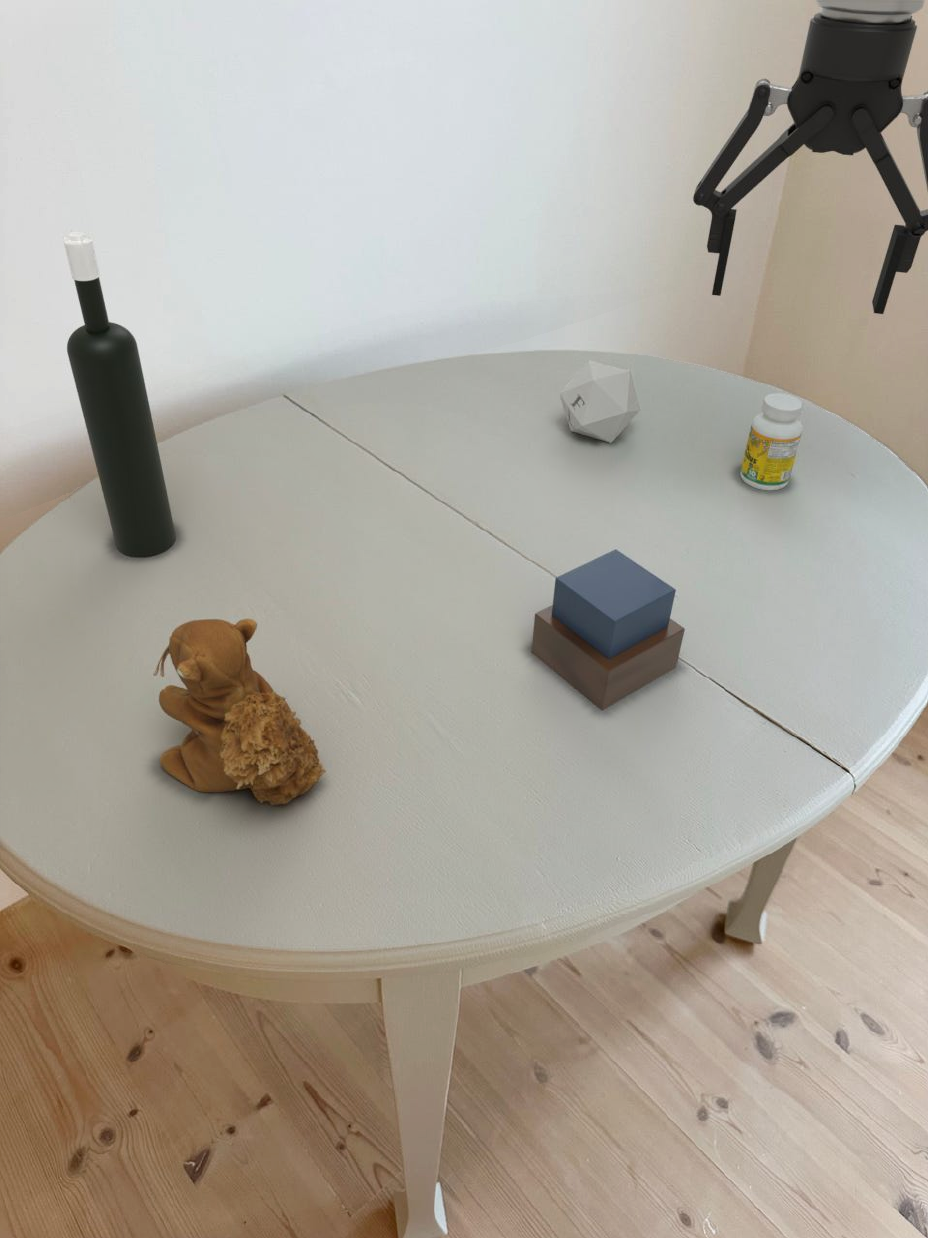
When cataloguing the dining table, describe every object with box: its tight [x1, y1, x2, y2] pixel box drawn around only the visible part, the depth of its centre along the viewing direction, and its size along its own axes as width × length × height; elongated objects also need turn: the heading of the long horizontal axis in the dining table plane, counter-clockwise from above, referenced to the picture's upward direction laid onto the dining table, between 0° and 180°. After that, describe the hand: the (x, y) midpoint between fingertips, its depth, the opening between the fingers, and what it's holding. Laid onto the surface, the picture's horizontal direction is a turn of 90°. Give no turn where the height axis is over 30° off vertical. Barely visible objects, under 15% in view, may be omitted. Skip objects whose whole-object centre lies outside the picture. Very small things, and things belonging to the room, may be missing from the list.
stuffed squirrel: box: [153, 618, 327, 806], centre depth 69 cm, size 10×14×13 cm
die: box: [558, 359, 641, 444], centre depth 113 cm, size 8×9×10 cm
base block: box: [531, 604, 686, 711], centre depth 82 cm, size 9×9×4 cm
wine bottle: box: [62, 230, 177, 559], centre depth 86 cm, size 6×6×30 cm
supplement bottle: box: [740, 392, 804, 492], centre depth 105 cm, size 5×5×10 cm
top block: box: [552, 549, 677, 659], centre depth 80 cm, size 7×7×4 cm
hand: (795, 299), depth 83 cm, fingers open, 13 cm apart
